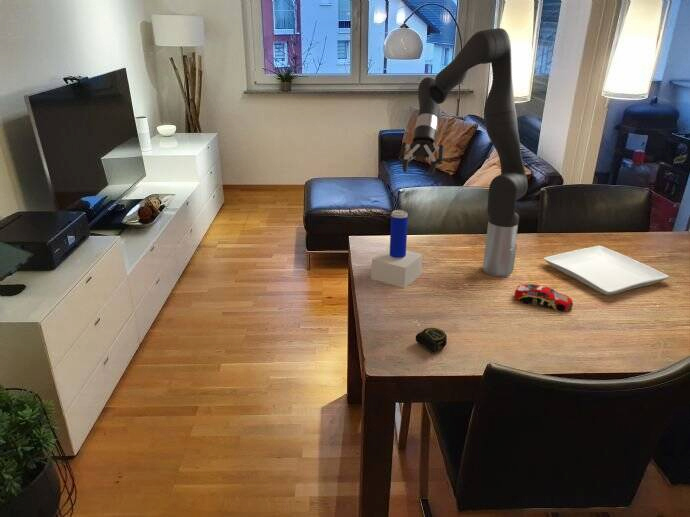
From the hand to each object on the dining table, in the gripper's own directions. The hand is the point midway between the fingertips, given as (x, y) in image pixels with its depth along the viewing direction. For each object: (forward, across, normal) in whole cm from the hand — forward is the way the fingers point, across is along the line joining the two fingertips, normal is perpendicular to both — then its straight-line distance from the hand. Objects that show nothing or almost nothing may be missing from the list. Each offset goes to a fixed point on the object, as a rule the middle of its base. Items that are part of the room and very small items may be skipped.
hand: (417, 172), depth 173 cm
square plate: (+19, +62, +24) cm, 69 cm away
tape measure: (+60, +15, -17) cm, 64 cm away
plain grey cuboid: (+34, -2, +9) cm, 35 cm away
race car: (+37, +43, +6) cm, 57 cm away
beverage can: (+29, -2, +4) cm, 29 cm away
